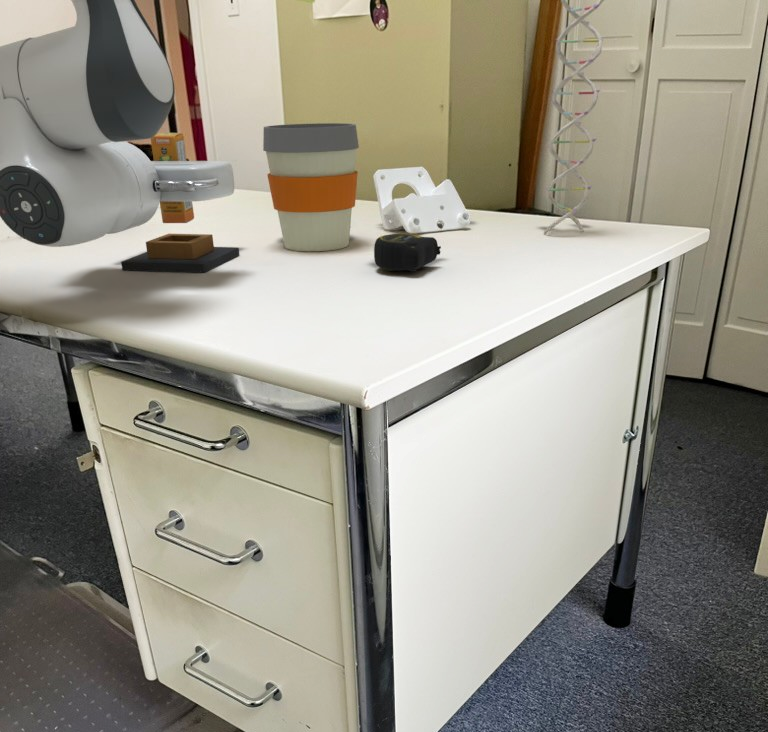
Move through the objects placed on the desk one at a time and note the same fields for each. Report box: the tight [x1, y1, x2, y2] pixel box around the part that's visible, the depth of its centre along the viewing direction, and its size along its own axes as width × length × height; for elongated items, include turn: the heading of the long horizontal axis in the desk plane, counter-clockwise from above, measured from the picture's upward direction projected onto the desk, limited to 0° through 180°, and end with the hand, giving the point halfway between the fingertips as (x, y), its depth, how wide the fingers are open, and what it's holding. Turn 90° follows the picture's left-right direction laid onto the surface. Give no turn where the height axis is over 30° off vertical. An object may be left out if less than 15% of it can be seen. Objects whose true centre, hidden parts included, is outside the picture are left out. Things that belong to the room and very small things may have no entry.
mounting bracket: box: [372, 166, 472, 235], centre depth 120 cm, size 12×6×11 cm, turn 116°
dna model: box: [543, 0, 605, 235], centre depth 109 cm, size 7×6×30 cm
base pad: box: [120, 233, 240, 274], centre depth 102 cm, size 11×11×3 cm
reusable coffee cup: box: [262, 122, 360, 252], centre depth 108 cm, size 13×13×15 cm
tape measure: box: [373, 233, 442, 273], centre depth 95 cm, size 7×7×4 cm
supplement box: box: [150, 132, 195, 224], centre depth 98 cm, size 3×3×10 cm
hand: (175, 173), depth 99 cm, fingers closed on supplement box, 3 cm apart
